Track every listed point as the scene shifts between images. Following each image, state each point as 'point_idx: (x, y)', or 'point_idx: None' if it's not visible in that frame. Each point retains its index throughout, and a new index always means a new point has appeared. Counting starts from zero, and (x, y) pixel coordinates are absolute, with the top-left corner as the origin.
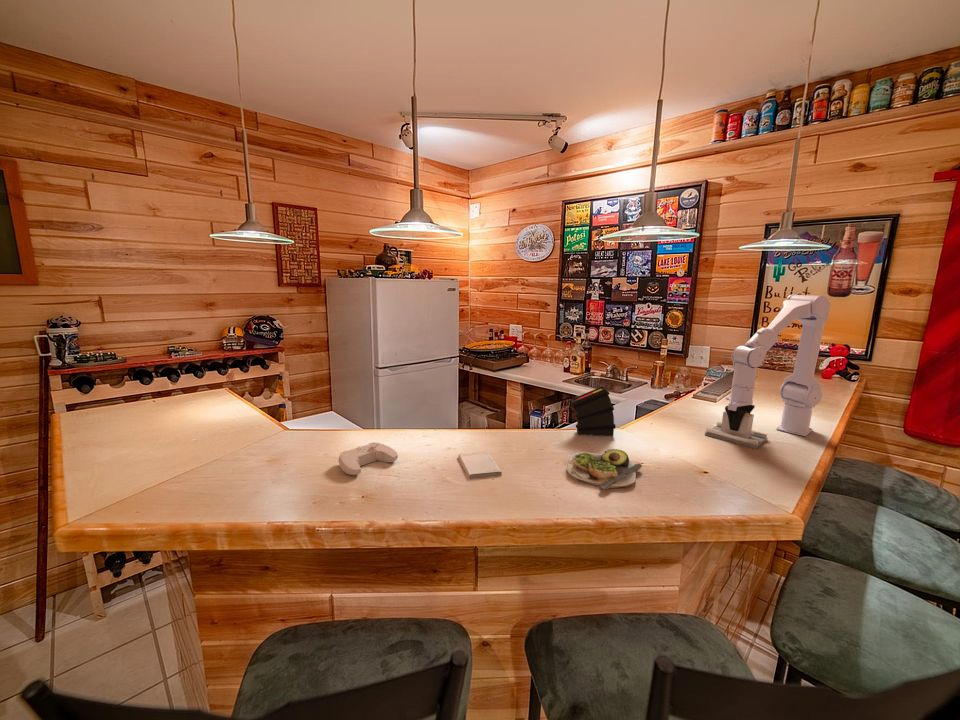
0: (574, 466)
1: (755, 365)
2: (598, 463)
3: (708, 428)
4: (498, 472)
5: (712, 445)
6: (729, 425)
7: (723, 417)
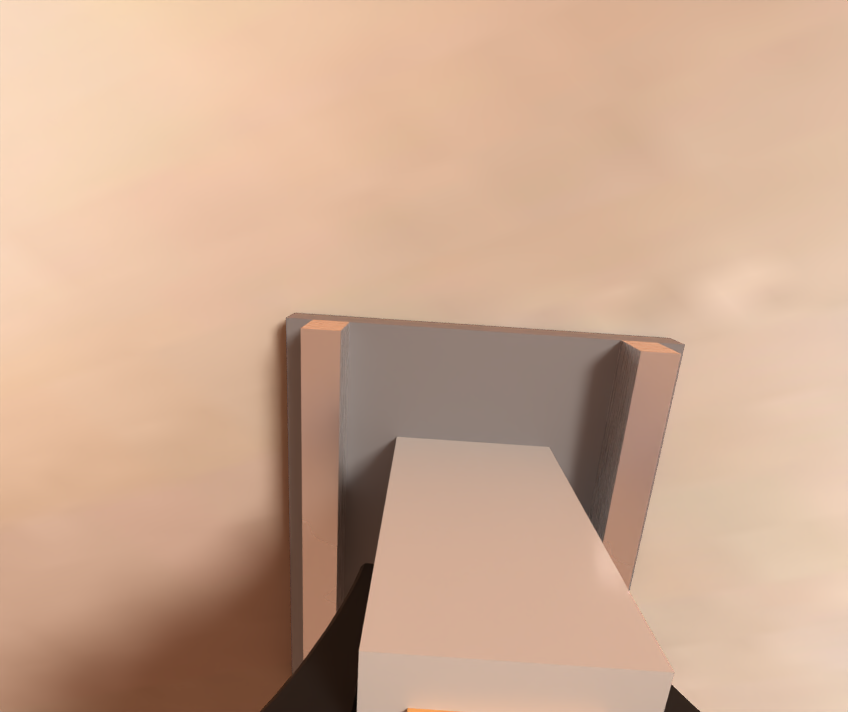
0: None
1: None
2: None
3: (314, 347)
4: None
5: (77, 449)
6: (350, 591)
7: (374, 573)
